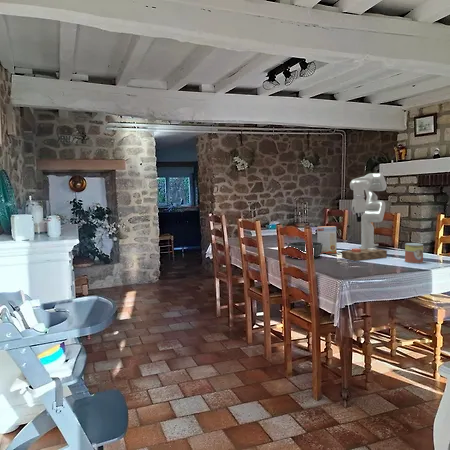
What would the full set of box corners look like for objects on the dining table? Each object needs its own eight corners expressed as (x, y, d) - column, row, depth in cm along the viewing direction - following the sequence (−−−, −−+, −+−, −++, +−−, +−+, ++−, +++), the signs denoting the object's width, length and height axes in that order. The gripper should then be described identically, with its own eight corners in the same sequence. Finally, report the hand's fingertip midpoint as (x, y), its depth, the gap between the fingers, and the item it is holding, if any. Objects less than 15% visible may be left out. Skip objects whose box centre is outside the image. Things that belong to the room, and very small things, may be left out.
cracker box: (335, 252, 325) (335, 225, 323) (336, 253, 319) (336, 226, 317) (317, 252, 327) (317, 226, 325) (318, 253, 321) (318, 226, 319)
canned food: (411, 263, 273) (411, 245, 271) (401, 260, 284) (401, 243, 282) (426, 262, 275) (427, 244, 274) (415, 259, 286) (416, 242, 285)
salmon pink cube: (356, 254, 299) (356, 248, 299) (360, 255, 295) (360, 249, 294) (351, 254, 297) (351, 248, 297) (355, 255, 293) (355, 249, 293)
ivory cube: (372, 254, 304) (372, 248, 304) (376, 254, 300) (376, 248, 299) (367, 254, 302) (367, 248, 302) (371, 255, 298) (371, 249, 298)
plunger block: (373, 254, 310) (373, 248, 310) (386, 257, 297) (386, 250, 297) (342, 257, 300) (342, 251, 300) (354, 260, 287) (354, 253, 287)
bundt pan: (283, 254, 322) (282, 241, 321) (315, 253, 325) (315, 240, 324) (292, 260, 295) (292, 246, 294) (328, 258, 299) (328, 245, 298)
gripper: (363, 196, 317) (363, 220, 320) (347, 197, 312) (347, 222, 314) (370, 196, 310) (370, 221, 313) (353, 198, 305) (354, 223, 307)
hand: (359, 221), depth 313 cm, fingers closed
